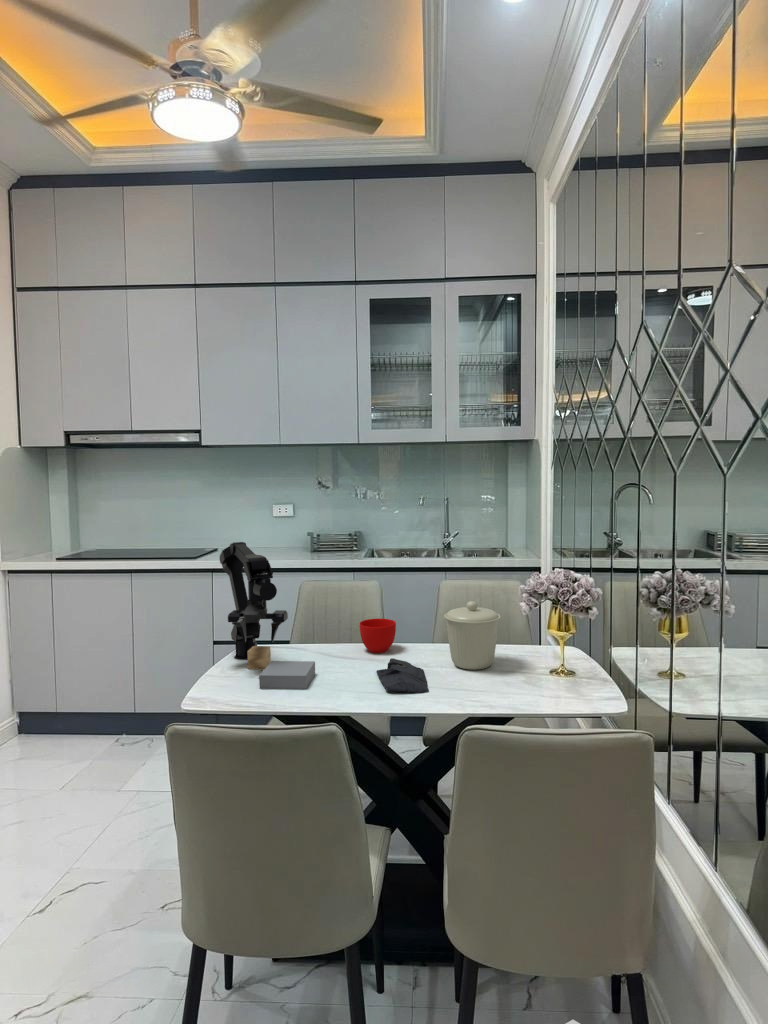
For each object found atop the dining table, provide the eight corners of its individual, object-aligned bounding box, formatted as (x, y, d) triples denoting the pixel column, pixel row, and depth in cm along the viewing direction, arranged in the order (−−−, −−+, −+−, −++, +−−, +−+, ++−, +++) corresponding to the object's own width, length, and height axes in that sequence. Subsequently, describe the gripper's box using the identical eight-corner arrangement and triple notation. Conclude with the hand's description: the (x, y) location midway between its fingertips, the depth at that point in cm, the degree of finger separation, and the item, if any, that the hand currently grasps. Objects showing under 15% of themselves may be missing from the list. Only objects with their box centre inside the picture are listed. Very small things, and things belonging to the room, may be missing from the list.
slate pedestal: (259, 688, 186) (259, 675, 185) (271, 673, 199) (271, 661, 199) (306, 689, 184) (305, 675, 184) (315, 673, 198) (314, 661, 198)
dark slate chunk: (378, 696, 179) (377, 680, 178) (376, 672, 200) (375, 657, 200) (431, 695, 179) (431, 678, 179) (423, 670, 201) (423, 656, 201)
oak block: (248, 669, 204) (247, 651, 204) (253, 663, 210) (252, 646, 210) (266, 669, 204) (265, 651, 203) (270, 663, 210) (270, 646, 209)
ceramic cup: (388, 641, 234) (388, 615, 234) (400, 654, 218) (400, 625, 217) (354, 644, 231) (354, 617, 231) (364, 657, 215) (363, 628, 214)
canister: (486, 654, 215) (485, 594, 214) (510, 670, 198) (510, 604, 196) (436, 660, 210) (435, 598, 209) (457, 676, 193) (456, 609, 192)
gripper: (221, 600, 198) (222, 648, 199) (279, 600, 197) (280, 649, 198) (232, 593, 209) (234, 639, 210) (287, 593, 208) (288, 639, 209)
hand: (258, 642), depth 206 cm, fingers open, 9 cm apart
